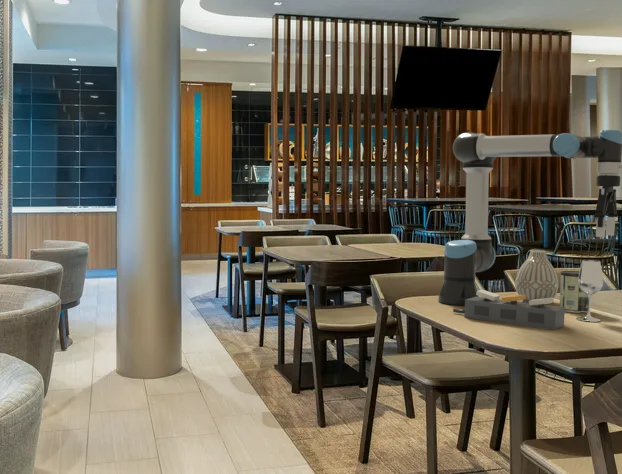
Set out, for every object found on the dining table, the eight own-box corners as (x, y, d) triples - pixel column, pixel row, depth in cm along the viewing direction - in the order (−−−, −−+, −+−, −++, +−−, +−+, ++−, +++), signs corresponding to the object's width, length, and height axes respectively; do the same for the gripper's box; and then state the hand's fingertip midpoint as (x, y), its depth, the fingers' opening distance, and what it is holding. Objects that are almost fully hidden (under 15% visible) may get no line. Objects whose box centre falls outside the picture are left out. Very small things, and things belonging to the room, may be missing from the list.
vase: (526, 297, 273) (529, 248, 272) (564, 303, 262) (567, 251, 260) (506, 301, 262) (508, 250, 260) (545, 307, 251) (548, 253, 249)
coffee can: (586, 309, 248) (588, 271, 247) (592, 314, 238) (594, 274, 237) (556, 307, 250) (558, 269, 249) (561, 312, 240) (563, 273, 239)
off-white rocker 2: (529, 305, 215) (528, 300, 216) (534, 303, 219) (533, 299, 219) (549, 303, 212) (548, 299, 212) (553, 301, 215) (553, 297, 215)
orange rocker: (502, 301, 221) (501, 297, 221) (507, 300, 224) (506, 296, 224) (521, 300, 217) (520, 295, 217) (526, 298, 220) (525, 294, 221)
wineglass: (571, 317, 231) (574, 259, 229) (593, 317, 231) (596, 259, 230) (582, 322, 223) (585, 261, 221) (605, 322, 223) (608, 262, 222)
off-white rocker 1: (475, 294, 226) (476, 290, 226) (481, 293, 230) (482, 289, 230) (493, 300, 223) (494, 296, 222) (498, 299, 226) (499, 295, 226)
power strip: (447, 315, 230) (448, 295, 230) (459, 311, 237) (460, 292, 237) (554, 330, 208) (555, 308, 208) (563, 325, 216) (565, 304, 215)
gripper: (611, 174, 222) (607, 238, 224) (628, 176, 242) (624, 235, 244) (587, 173, 227) (584, 236, 228) (606, 176, 247) (602, 233, 248)
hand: (605, 236), depth 236 cm, fingers open, 13 cm apart
